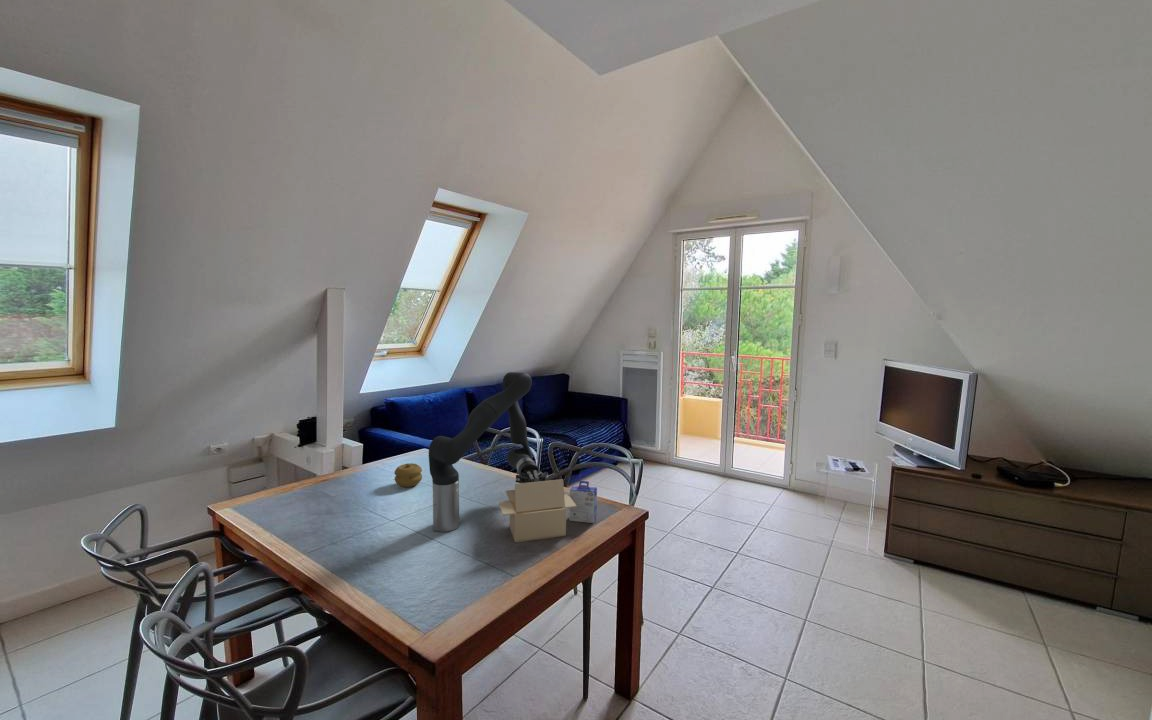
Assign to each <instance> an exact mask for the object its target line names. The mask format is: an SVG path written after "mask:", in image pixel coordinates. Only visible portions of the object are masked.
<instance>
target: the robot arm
mask: <svg viewBox="0 0 1152 720" xmlns="http://www.w3.org/2000/svg"><path fill="white" fill-rule="evenodd" d="M532 379H533V378H532V376H530V374H528V373H526V372H518V371H509V372H507V373H506V374H505V375H504V376H503V378H502V389H503V390H501V391H500V392H498V393H496V394H493V395H491V396H489V397H488V398H486V399H484V400H483V401H480V403H478V405H476V407H475V408H473V409H472V411H471V412H470V413H469V415H468V419H467V422H466V425H465V427H464V428H463V429H462V430H461V431H460V432H459V433H458V434H456V435H455V436H454V437H448V436H444V435H437V436H436V437H434V438H433V439H432V441H431V442H430V443H429V448H428V464H429V465H428V466H429V474H430V476H431V480H432V481H431V482H432V519H433V521H432V523H433V524H432V525H433V532H444V533H445V532H452V531H455V530H456V529H458V528H459V527H460V476H459V475H460V474H459V472H458V470H457V469H456V468H455V467H454V466H453V465H455V464H456V463H458V462H459V461H460V460H461V459H462V458H463V457H464V456H465V454H467V452H468V451H469V449H470V448H471V447H472V446H473V444H475V442H476V441H477V440H478V439H479V438H480V437H481V436H482V435H483V434H485V432H486V431H487V430H488V429H490V427H491V426H492V425H493V424H494V423H495V422H496V421H497V420H498V419H499V418H500V417H501V416H502V415H503V414H504V413H505V412H507V414H508V421H509V435H510V442H511V443H512V444H515V445H521V446H522V448H521V447H519V448H512V449H510V450H509V451H508V452H507V455H506V461H507V463H508V464H509V466H510V467H511V468H513V469H515V470H516V471H517V474H515V482H516V483H517V484H519V483H529V482H539V481H548V479H549V472H548V471H546V472H542V471H541V470H540V469H539V467H538V466H537V464H536V462H535V461H534V460H533V454H532V451H531V448H530V444H529V441H528V430H527V429H528V428H527V422H526V421H527V420H526V418H525V415H524V414H523V412H522V409H521V407H520V403H519V400H520V399H522V398H523V397H524V396H526V394H528V393H529V392H530V390H531V388H532V385H533V380H532Z"/></svg>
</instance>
